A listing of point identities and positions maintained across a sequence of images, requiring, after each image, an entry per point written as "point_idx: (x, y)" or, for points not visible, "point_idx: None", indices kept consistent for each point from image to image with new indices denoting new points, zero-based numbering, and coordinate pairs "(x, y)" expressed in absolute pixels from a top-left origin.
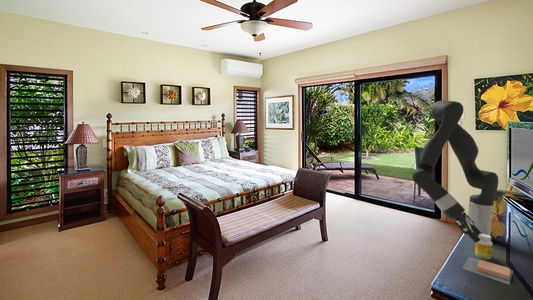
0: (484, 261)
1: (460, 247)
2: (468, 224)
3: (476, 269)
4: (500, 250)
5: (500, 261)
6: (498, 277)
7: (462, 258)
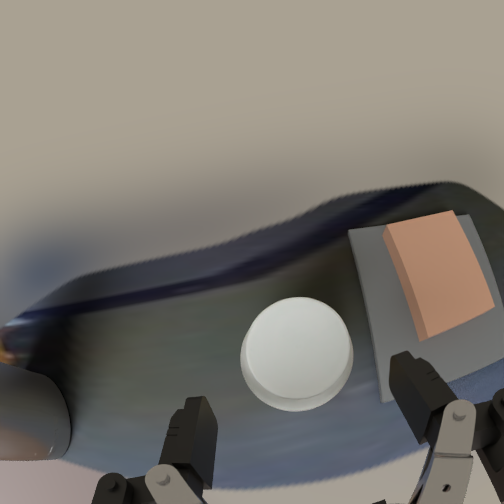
0: (426, 312)
1: (254, 482)
2: (467, 479)
3: (479, 318)
4: (122, 325)
5: (270, 296)
6: None
7: None
